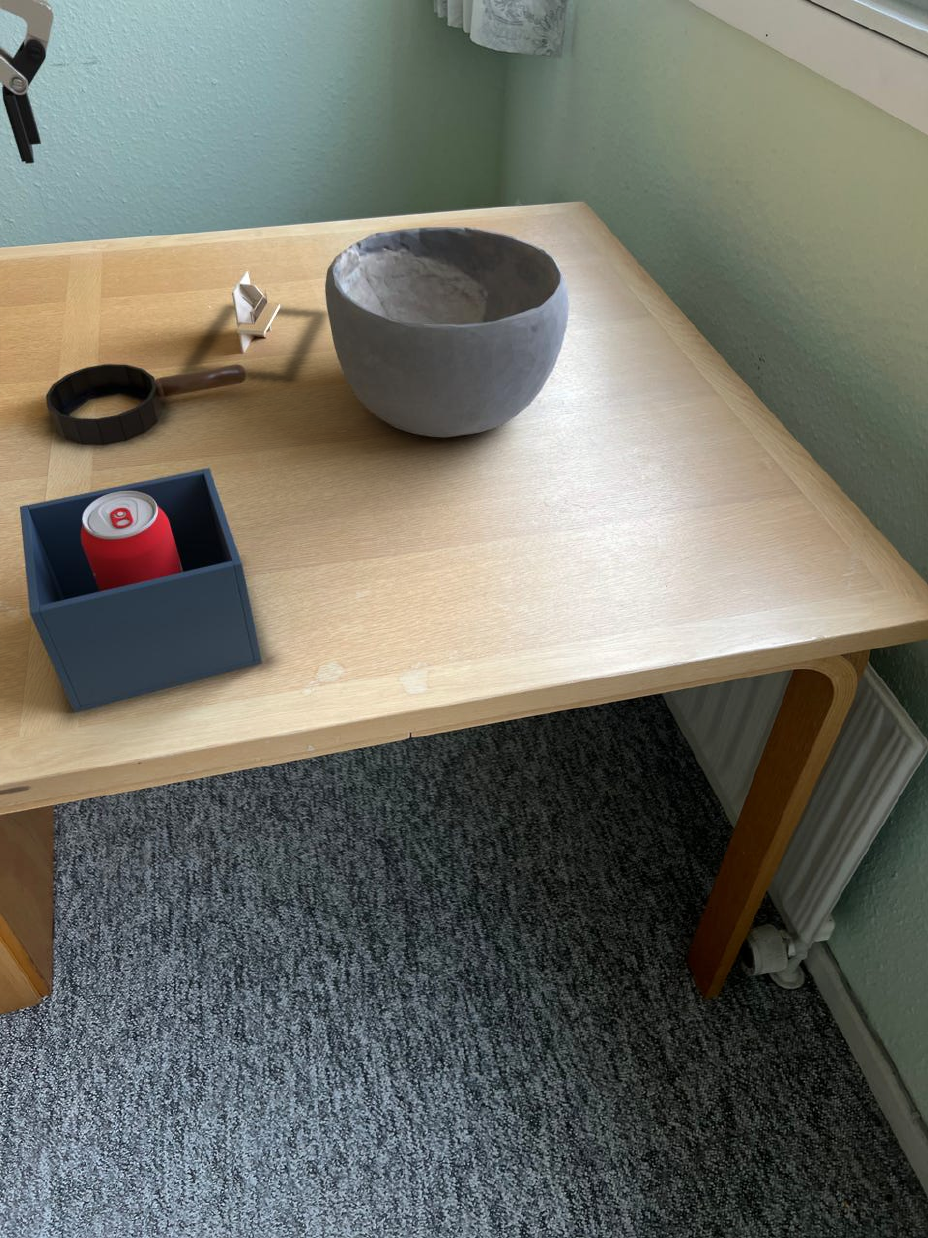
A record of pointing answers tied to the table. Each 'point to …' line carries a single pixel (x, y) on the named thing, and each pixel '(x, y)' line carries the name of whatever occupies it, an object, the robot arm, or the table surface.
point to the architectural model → (252, 311)
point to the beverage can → (128, 540)
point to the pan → (128, 383)
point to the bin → (139, 598)
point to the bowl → (446, 326)
